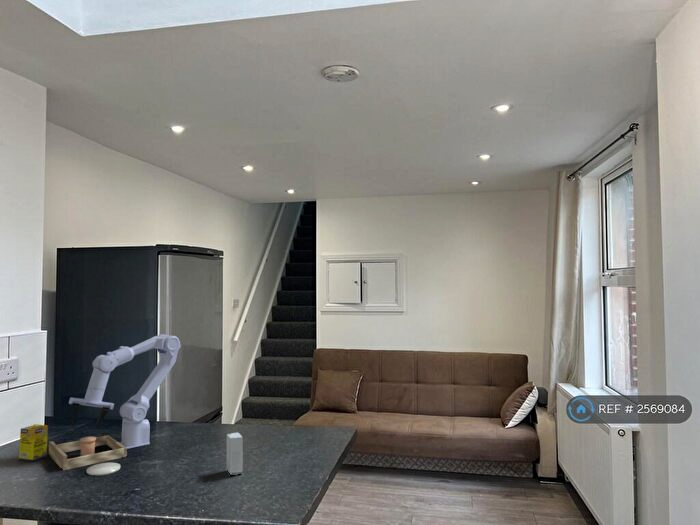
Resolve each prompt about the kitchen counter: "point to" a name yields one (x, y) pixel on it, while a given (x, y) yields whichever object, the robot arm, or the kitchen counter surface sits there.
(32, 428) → the supplement box
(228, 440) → the skincare box
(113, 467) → the saucer
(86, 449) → the peach drawer knob
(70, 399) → the robot arm
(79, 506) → the kitchen counter surface
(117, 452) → the frame
